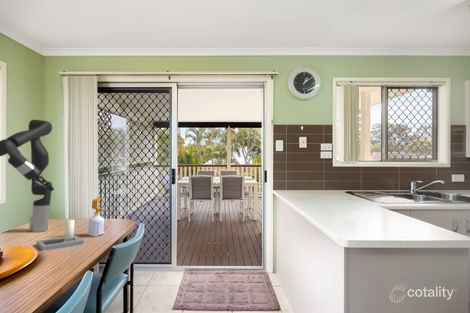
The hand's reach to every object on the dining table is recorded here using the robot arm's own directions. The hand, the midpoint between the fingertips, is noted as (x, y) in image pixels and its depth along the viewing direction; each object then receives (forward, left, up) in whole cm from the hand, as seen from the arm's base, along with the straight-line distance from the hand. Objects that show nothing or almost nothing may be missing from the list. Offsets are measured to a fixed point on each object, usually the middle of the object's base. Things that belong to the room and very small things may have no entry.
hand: (50, 189), depth 155 cm
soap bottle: (+21, +16, -31) cm, 41 cm away
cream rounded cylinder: (+14, -3, -30) cm, 34 cm away
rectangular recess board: (+11, -5, -31) cm, 33 cm away
